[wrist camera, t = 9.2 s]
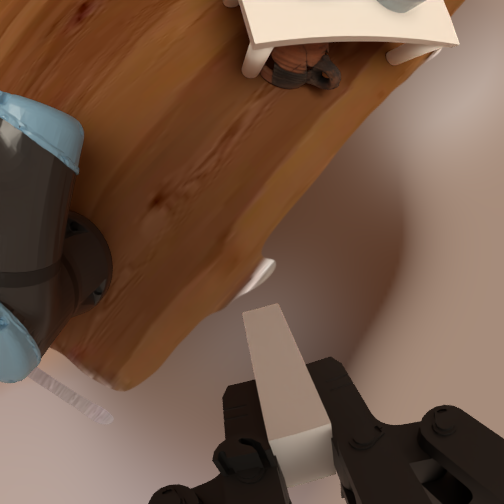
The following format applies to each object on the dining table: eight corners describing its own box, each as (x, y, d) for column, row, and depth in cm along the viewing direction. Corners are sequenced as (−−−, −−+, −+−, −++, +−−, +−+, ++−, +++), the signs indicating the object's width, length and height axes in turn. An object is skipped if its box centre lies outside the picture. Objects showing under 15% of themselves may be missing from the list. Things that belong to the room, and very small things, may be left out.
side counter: (241, 80, 36) (255, 43, 23) (218, -4, 31) (222, -60, 18) (402, 65, 37) (459, 44, 24) (375, -9, 32) (421, -45, 19)
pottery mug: (237, 67, 36) (250, 20, 28) (277, 42, 39) (293, 2, 31) (312, 118, 36) (339, 76, 28) (343, 87, 39) (369, 50, 31)
